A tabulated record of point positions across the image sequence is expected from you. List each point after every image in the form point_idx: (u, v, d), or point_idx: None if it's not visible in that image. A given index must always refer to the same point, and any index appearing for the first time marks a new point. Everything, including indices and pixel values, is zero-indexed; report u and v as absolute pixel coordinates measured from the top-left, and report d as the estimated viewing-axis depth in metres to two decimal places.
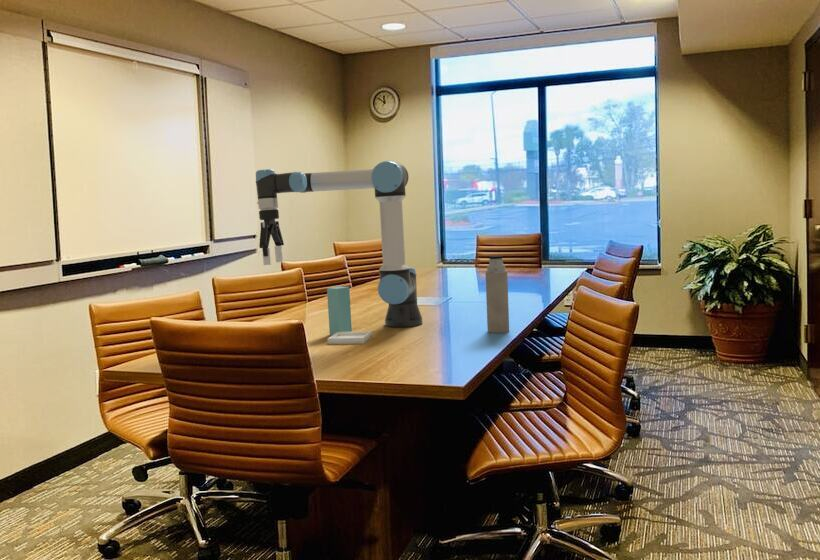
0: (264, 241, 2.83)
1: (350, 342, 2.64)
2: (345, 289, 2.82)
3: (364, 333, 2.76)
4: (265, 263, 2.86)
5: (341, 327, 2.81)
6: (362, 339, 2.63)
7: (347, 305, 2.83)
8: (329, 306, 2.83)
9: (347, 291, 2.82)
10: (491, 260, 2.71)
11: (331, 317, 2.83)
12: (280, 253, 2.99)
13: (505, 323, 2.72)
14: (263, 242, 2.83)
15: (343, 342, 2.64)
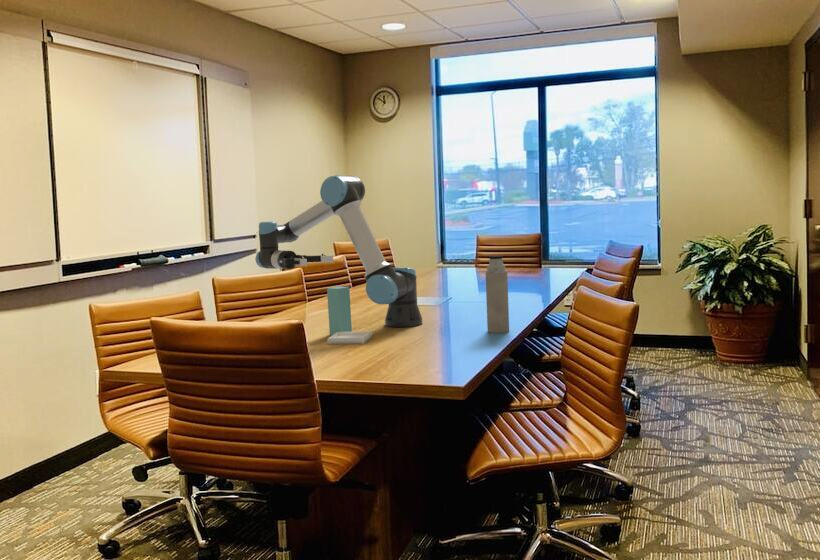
0: (285, 260, 2.87)
1: (350, 342, 2.64)
2: (345, 289, 2.82)
3: (364, 333, 2.76)
4: (304, 264, 2.83)
5: (341, 327, 2.81)
6: (362, 339, 2.63)
7: (347, 305, 2.83)
8: (329, 306, 2.83)
9: (347, 291, 2.82)
10: (491, 260, 2.71)
11: (331, 317, 2.83)
12: (325, 257, 2.95)
13: (505, 323, 2.72)
14: (285, 261, 2.87)
15: (343, 342, 2.64)
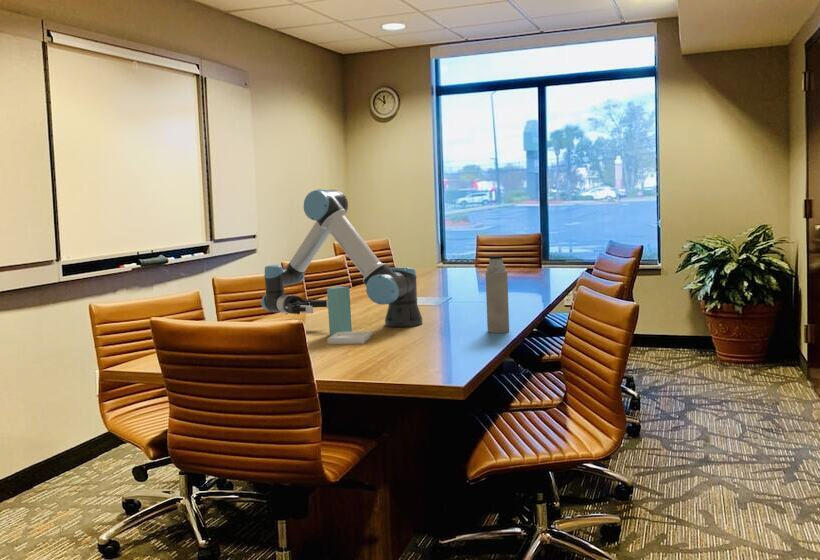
0: (291, 307, 2.88)
1: (350, 342, 2.64)
2: (345, 289, 2.82)
3: (364, 333, 2.76)
4: (310, 311, 2.84)
5: (341, 327, 2.81)
6: (362, 339, 2.63)
7: (347, 305, 2.83)
8: (329, 306, 2.83)
9: (347, 291, 2.82)
10: (491, 260, 2.71)
11: (331, 317, 2.83)
12: None
13: (505, 323, 2.72)
14: (291, 308, 2.87)
15: (343, 342, 2.64)
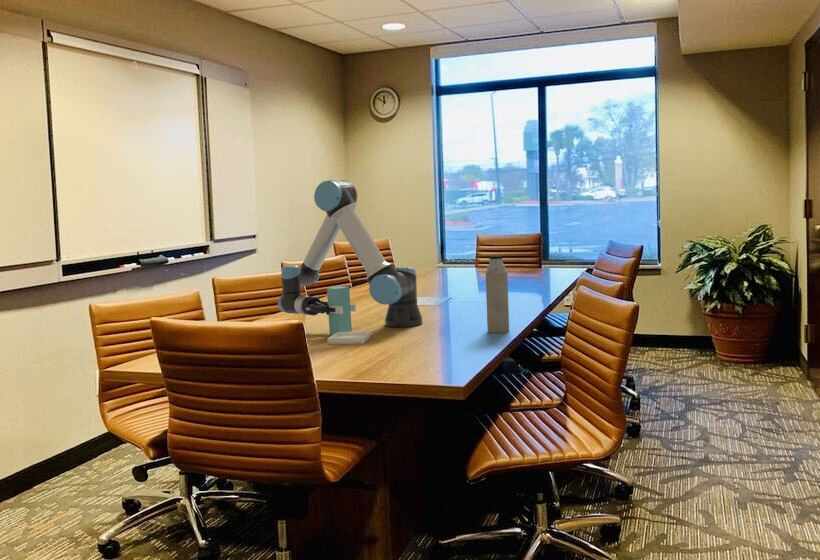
0: (319, 308, 2.81)
1: (350, 342, 2.64)
2: (345, 289, 2.82)
3: (364, 333, 2.76)
4: (340, 311, 2.78)
5: (341, 327, 2.81)
6: (362, 339, 2.63)
7: (347, 305, 2.83)
8: (329, 306, 2.83)
9: (347, 291, 2.82)
10: (491, 260, 2.71)
11: (331, 317, 2.83)
12: None
13: (505, 323, 2.72)
14: (320, 309, 2.81)
15: (343, 342, 2.64)
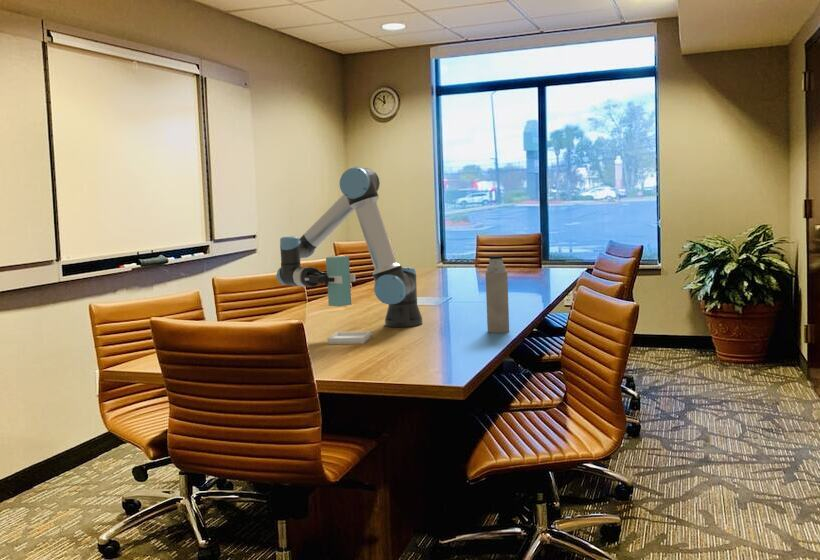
0: (318, 277, 2.75)
1: (350, 342, 2.64)
2: (344, 258, 2.75)
3: (364, 333, 2.76)
4: (339, 281, 2.71)
5: (340, 297, 2.74)
6: (362, 339, 2.63)
7: (346, 275, 2.76)
8: (328, 276, 2.76)
9: (346, 261, 2.76)
10: (491, 260, 2.71)
11: (330, 287, 2.76)
12: None
13: (505, 323, 2.72)
14: (319, 278, 2.75)
15: (343, 342, 2.64)
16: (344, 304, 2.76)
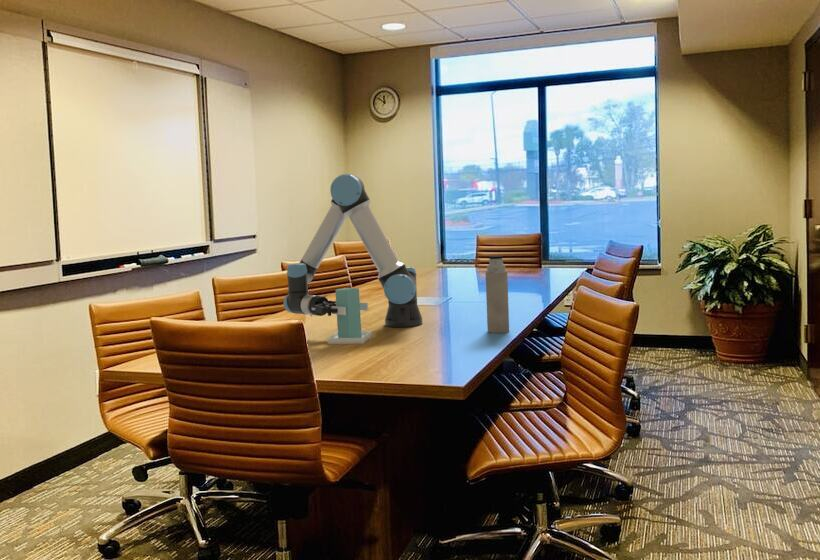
0: (321, 308, 2.66)
1: (350, 342, 2.64)
2: (354, 291, 2.68)
3: (364, 333, 2.76)
4: (343, 312, 2.63)
5: (350, 330, 2.67)
6: (362, 339, 2.63)
7: (356, 307, 2.69)
8: None
9: (357, 293, 2.68)
10: (491, 260, 2.71)
11: (340, 320, 2.69)
12: None
13: (505, 323, 2.72)
14: (322, 309, 2.66)
15: (343, 342, 2.64)
16: (354, 337, 2.68)
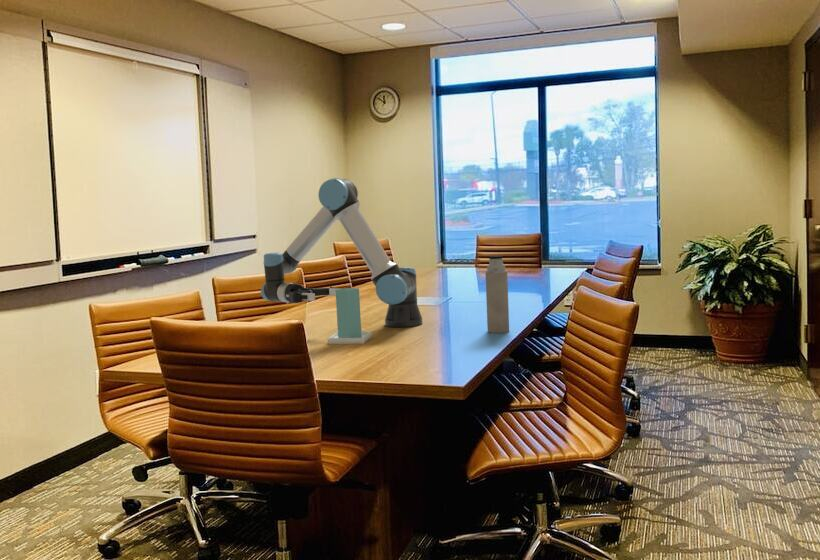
0: (292, 295, 2.75)
1: (350, 342, 2.64)
2: (354, 291, 2.68)
3: (364, 333, 2.76)
4: (312, 299, 2.71)
5: (350, 330, 2.67)
6: (362, 339, 2.63)
7: (357, 308, 2.69)
8: (338, 309, 2.69)
9: (357, 293, 2.68)
10: (491, 260, 2.71)
11: (340, 320, 2.69)
12: (334, 290, 2.83)
13: (505, 323, 2.72)
14: (292, 296, 2.74)
15: (343, 342, 2.64)
16: (354, 337, 2.68)
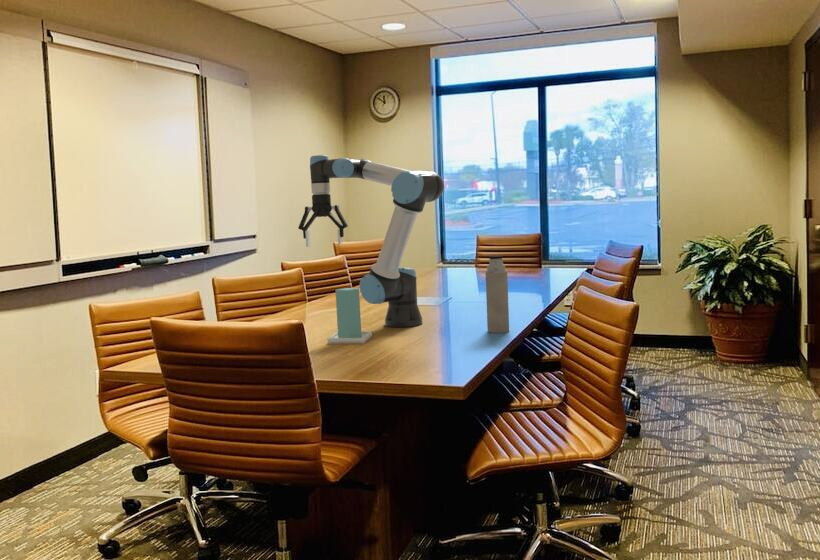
0: None
1: (350, 342, 2.64)
2: (354, 291, 2.68)
3: (364, 333, 2.76)
4: None
5: (350, 330, 2.67)
6: (362, 339, 2.63)
7: (357, 308, 2.69)
8: (338, 309, 2.69)
9: (357, 293, 2.68)
10: (491, 260, 2.71)
11: (340, 320, 2.69)
12: None
13: (505, 323, 2.72)
14: None
15: (343, 342, 2.64)
16: (354, 337, 2.68)
